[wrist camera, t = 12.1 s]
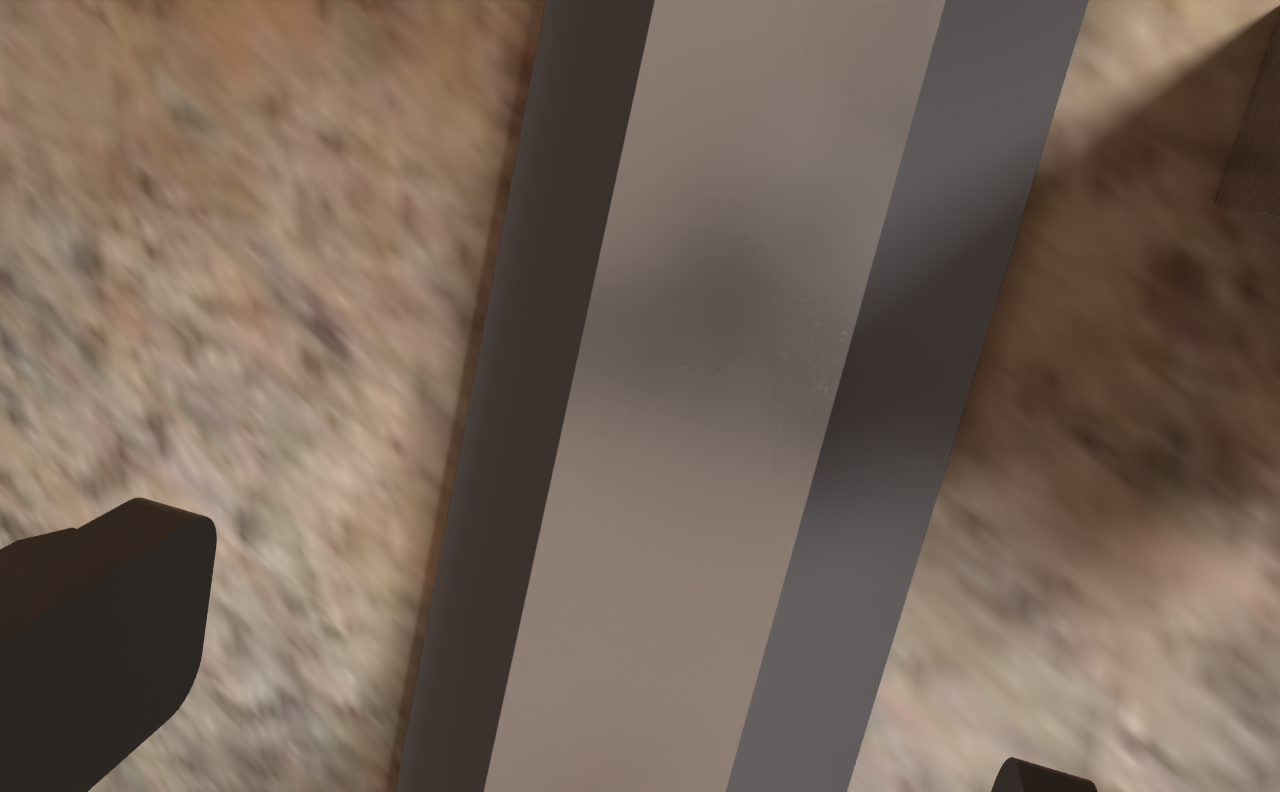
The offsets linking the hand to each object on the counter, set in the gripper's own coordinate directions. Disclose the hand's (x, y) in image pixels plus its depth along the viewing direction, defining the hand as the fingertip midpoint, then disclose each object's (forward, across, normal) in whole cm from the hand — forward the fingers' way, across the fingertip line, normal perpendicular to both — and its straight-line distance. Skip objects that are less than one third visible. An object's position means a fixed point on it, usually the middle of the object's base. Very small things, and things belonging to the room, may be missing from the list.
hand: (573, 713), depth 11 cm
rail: (+9, 0, +1) cm, 9 cm away
